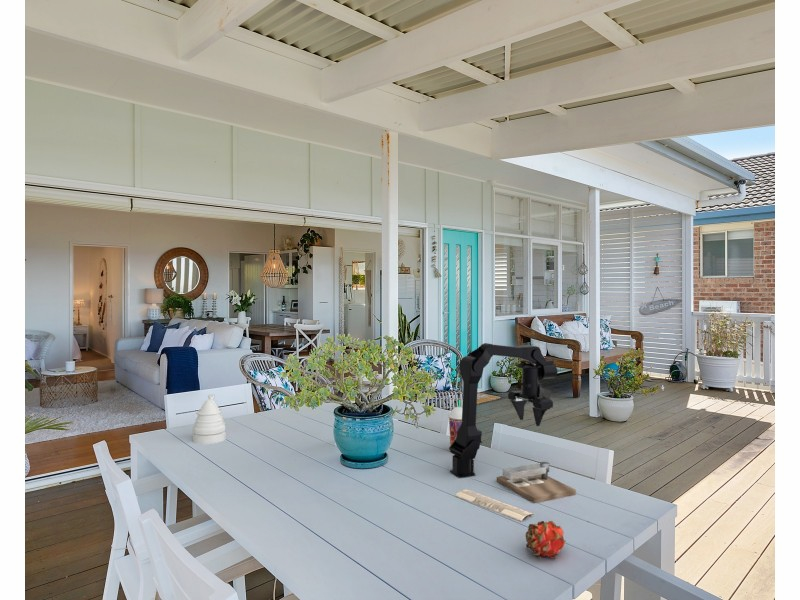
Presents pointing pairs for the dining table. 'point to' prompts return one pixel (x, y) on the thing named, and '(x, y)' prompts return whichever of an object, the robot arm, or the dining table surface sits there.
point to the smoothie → (455, 422)
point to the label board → (537, 487)
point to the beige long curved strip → (493, 505)
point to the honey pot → (209, 424)
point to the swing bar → (526, 470)
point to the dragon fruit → (545, 539)
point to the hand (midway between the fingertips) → (529, 422)
